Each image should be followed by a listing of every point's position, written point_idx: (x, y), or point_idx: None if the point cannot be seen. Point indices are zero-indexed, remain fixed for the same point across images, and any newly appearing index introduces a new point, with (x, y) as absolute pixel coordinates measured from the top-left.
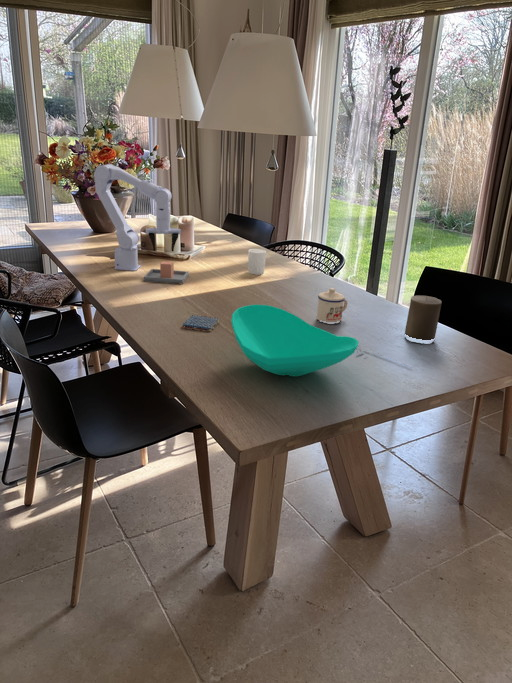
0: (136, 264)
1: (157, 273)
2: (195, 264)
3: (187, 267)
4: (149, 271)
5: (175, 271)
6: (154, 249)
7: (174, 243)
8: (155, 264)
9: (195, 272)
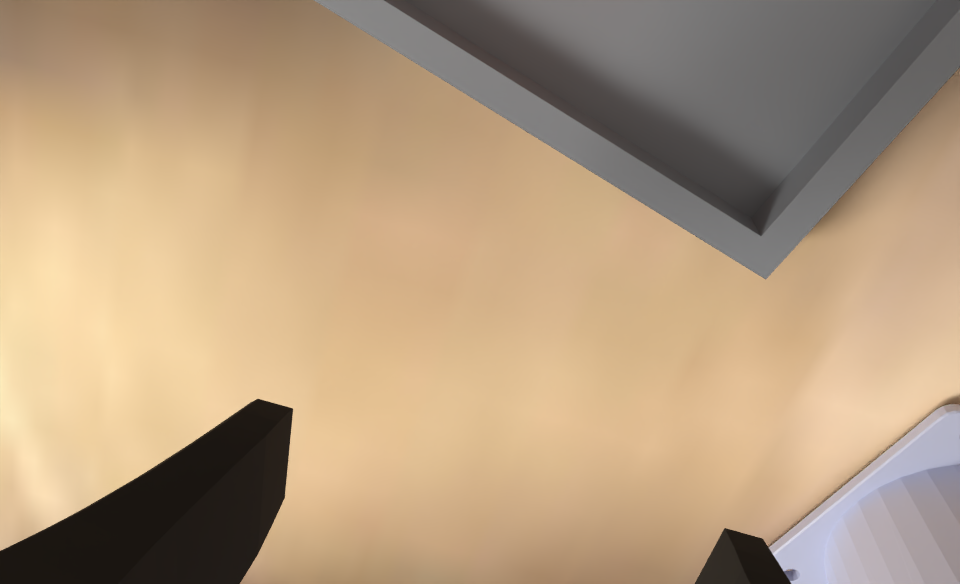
0: (911, 524)
1: (717, 114)
2: (60, 438)
3: (167, 354)
4: (906, 111)
5: (401, 8)
6: (761, 565)
7: (77, 526)
8: (530, 576)
9: (77, 83)
